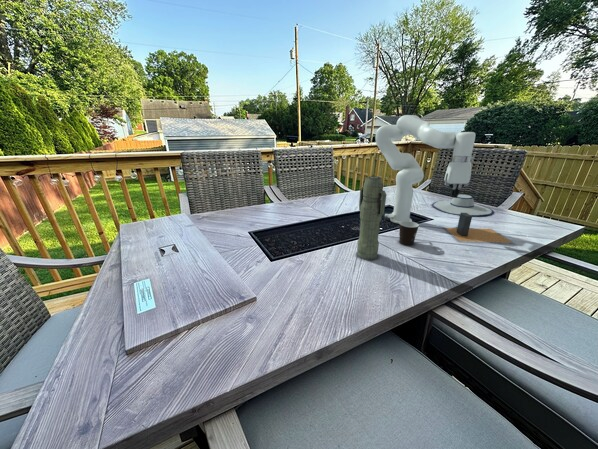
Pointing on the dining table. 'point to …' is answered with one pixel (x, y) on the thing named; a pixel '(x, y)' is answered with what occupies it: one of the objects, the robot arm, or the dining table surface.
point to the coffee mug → (407, 232)
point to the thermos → (370, 216)
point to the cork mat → (479, 235)
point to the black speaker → (464, 224)
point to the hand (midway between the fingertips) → (453, 197)
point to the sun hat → (462, 206)
